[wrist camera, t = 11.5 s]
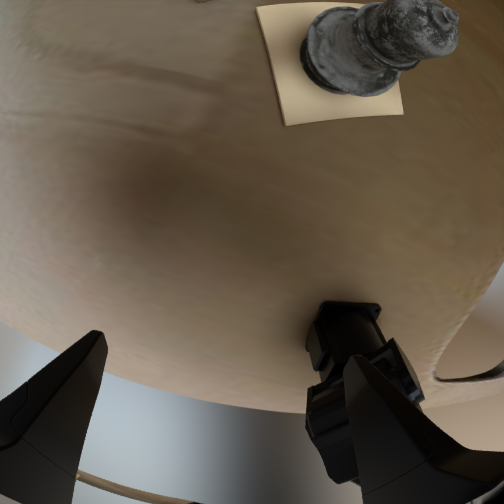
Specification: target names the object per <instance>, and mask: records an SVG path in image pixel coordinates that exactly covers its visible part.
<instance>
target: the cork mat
mask: <svg viewBox="0 0 504 504" xmlns="http://www.w3.org/2000/svg"><path fill="white" fill-rule="evenodd" d="M364 5H365V4H356V3H336V2H309V3H289V4H277V5H268V6H260V7H256V13H257V16H258V20H259V23H260V27H261V30H262V34H263V38H264V41H265V45H266V49H267V53H268V56H269V60H270V64H271V68H272V72H273V77H274V81H275V85H276V89H277V94H278V98H279V102H280V107H281V111H282V116H283V121H284V126H290V125H296V124H302V123H309V122H316V121H324V120H332V119H341V118H351V117H363V116H377V115H399V114H403V108H402V101H401V95H400V89H399V83H398V80H397V82H396V83H395V85H394V86H393V87H392V88H390V89H389V90H388V91H387V92H385V93H382V94H380V95H378V96H370V97H361V96H354V95H351V94H345V95H342V94H334V93H331V92H328V91H325V90H323V89H322V88H320V87H319V86H317V85H315V84H314V83H313V82H312V81H311V80H310V79H309V78H308V76H307V75H306V73H305V71H304V70H303V68H302V64H301V61H300V47H301V43H302V41H303V40H304V38H305V37H306V35H307V34H308V30H309V27H310V25H311V23H312V22H313V20H314V19H315V18H316V16H318V15H319V14H320V13H322V12H323V11H325V10H327V9H330V8H334V7H342V6H349V7H354V8H358V9H359V8H360V7H362V6H364Z"/></svg>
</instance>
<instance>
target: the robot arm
mask: <svg viewBox="0 0 504 504" xmlns="http://www.w3.org/2000/svg"><path fill="white" fill-rule="evenodd" d="M327 306H328V307H327ZM325 307H327V308H325ZM380 312H381V307H380V305H378V304H362V303H343V302H324V303H323V304H322V305H321V307H320V310H319V313H318V315H317V318H316V321H314V322H313V324H312V326H311V329H310V331H309V334H308V336H307V339H306V341H307V343H306V346H305V349H306V351H307V352H309V353H310V357H311V362H312V366H313V369H314V371H319V374H320V378H321V383H319V384H317V385H315V386H311V387H309V388H308V392H307V407H306V426H305V428H306V430H307V432H308V435H309V437H310V439H311V441H312V442H313V444H314V445H315V447H316V448H317V449H318V451H319V453H320V455H321V457H322V459H323V462H324V465H325V467H326V471H327V474H328V476H329V477H330V478H331V479H332V480H333V481H334V482H335V483H337V484H342V483H345V482H348V481H351V482H353V483H355V484H356V485H358V486H360V487H361V491H362V499H363V504H504V452H494V451H479V450H471V449H468V448H465V447H464V446H462V445H460V444H459V443H458V442H456V441H455V440H454V439H453V438H451V437H450V436H449V435H448V434H446V433H445V432H443V430H441V429H440V428H439V427H437V426H436V425H435V424H434V423H433V422H432V421H431V420H430V419H429V418H428V417H427V416H426V415H424V413H423V411H422V409H421V407H420V405H419V403H420V402H422V401H423V400H425V397H424V394H423V391H422V389H421V386H420V383H419V380H418V377H417V375H416V373H415V371H414V369H413V367H412V366H411V364H410V362H409V360H408V358H407V357H406V355H405V354H404V352H403V351H402V350H401V348H400V347H399V345H398V344H397V342H396V341H395V340H394V338H391V339H390V340H389V341H388V342H386V340H385V338H384V336H383V334H382V332H381V330H380V328H379V326H378V324H377V323H376V320H377V318H378V316H379V314H380ZM107 354H108V346H107V343H106V339H105V336H104V333H103V332H101V331H97V330H92V331H90V332H89V333H87V334H86V335H85V336H83V337H82V338H81V339H80V340H78V341H77V342H76V343H74V344H73V345H72V346H70V347H69V348H68V349H67V350H65V351H64V352H63V353H61V354H60V355H59V356H58V357H56V358H55V359H54V360H52V361H51V362H50V363H49V364H47V365H46V366H45V367H44V368H42V369H41V370H40V371H39V372H37V373H36V374H35V375H34V376H32V377H31V378H30V379H29V380H28V382H25V383H24V384H22V385H21V386H20V387H19V388H17V389H16V390H15V391H14V392H12V393H11V394H10V395H8V396H7V397H5V398H4V399H2V400H1V401H0V504H72V497H73V492H74V486H75V481H76V475H77V470H78V466H79V461H80V457H81V453H82V449H83V445H84V440H85V437H86V433H87V429H88V426H89V422H90V419H91V415H92V412H93V409H94V405H95V402H96V399H97V396H98V393H99V389H100V385H101V381H102V376H103V371H104V367H105V362H106V358H107Z"/></svg>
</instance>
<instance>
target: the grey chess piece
mask: <svg viewBox="0 0 504 504" xmlns="http://www.w3.org/2000/svg"><path fill="white" fill-rule="evenodd" d="M458 20H459V13H458V12H456V11H454V10H452V9H450V8H449V7H445V6H444V5H443V4H442V3H441V2H440V1H438V0H388V1H386V2H384V3H381V2H372V3H368V4H365V5H364V6H362V7H360V8H359V9H358V8H354V7H349V6H342V7H334V8H330V9H327V10H325V11H323V12H322V13H320V14H319V15H318V16H316V18H315V19H314V20H313V22H312V23H311V25H310V27H309V30H308V34H307V35H306V37H305V38H304V40H303V41H302V43H301V47H300V61H301V64H302V68H303V70H304V71H305V73H306V75H307V76H308V78H309V79H310V80H311V81H312V82H313V83H314V84H315V85H317V86H319V87H320V88H322V89H323V90H325V91H328V92H331V93H334V94H342V95H345V94H351V95H354V96H361V97H370V96H378V95H380V94H382V93H385V92H387V91H388V90H389V89H390V88H392V87H393V86H394V85H395V83H396V82H397V80H398V78H399V76H400V73H401V71H407V70H410V69H413V68H414V67H416V66H417V65H418V64H419V63H420V61H421V60H423V59H430V58H437V57H442V56H446V55H448V54H450V53H451V52H453V51H454V50H455V48H456V46H457V43H458V38H459V33H458V27H457V25H456V24H458Z"/></svg>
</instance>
